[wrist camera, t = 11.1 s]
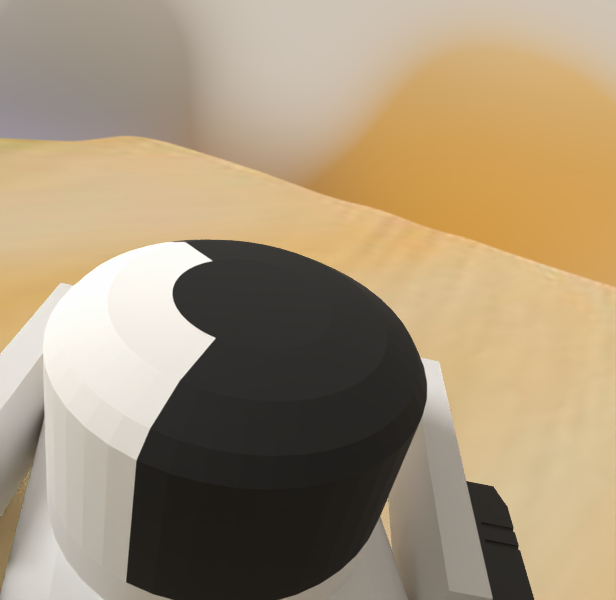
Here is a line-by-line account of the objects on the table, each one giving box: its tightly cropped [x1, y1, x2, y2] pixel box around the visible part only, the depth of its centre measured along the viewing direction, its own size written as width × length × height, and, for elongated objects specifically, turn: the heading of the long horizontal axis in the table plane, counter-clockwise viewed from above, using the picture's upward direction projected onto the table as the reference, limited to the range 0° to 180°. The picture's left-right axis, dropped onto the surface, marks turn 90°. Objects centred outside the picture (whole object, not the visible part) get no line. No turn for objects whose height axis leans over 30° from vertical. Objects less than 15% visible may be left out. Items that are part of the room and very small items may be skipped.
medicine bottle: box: [0, 240, 427, 600], centre depth 12 cm, size 7×7×12 cm
